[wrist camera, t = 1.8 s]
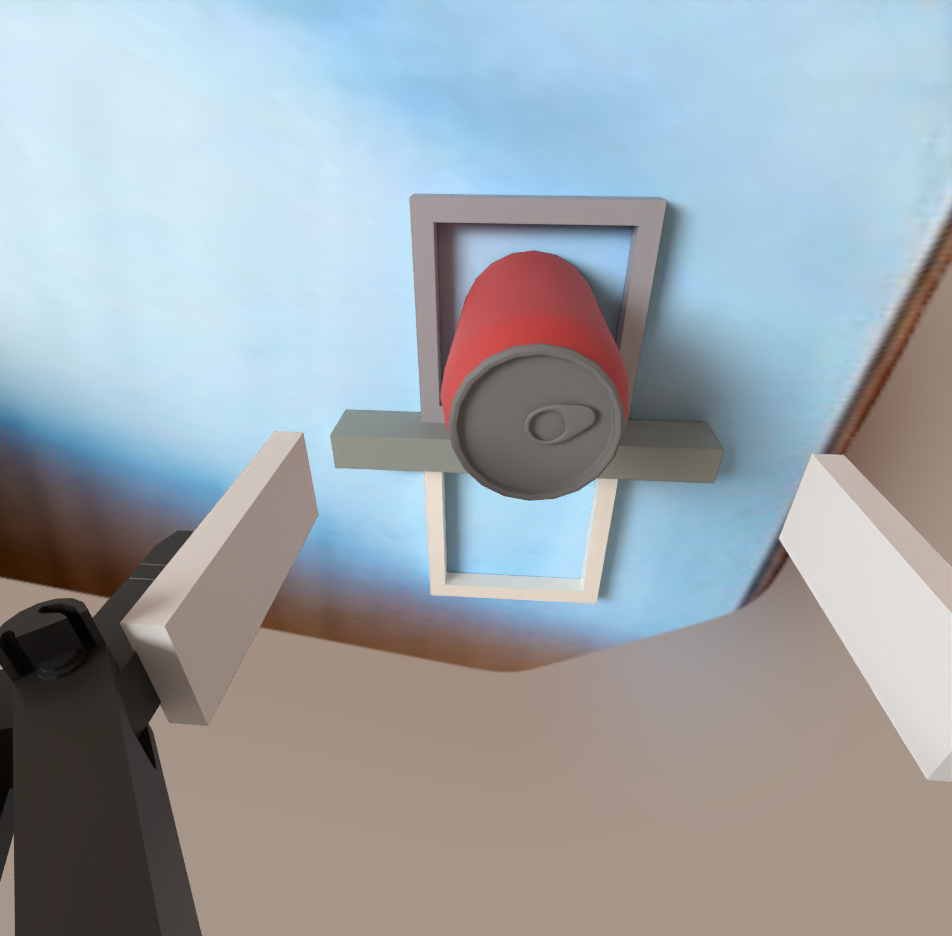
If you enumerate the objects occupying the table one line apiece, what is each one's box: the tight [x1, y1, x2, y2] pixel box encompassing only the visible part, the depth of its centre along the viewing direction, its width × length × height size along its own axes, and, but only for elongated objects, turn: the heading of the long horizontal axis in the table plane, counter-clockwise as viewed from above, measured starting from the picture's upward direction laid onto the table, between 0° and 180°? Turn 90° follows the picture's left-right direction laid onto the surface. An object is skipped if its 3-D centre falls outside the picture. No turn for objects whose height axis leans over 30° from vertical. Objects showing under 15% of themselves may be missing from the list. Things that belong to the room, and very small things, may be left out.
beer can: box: [440, 251, 629, 501], centre depth 22 cm, size 7×7×12 cm
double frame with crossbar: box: [330, 194, 724, 604], centre depth 30 cm, size 20×24×3 cm
